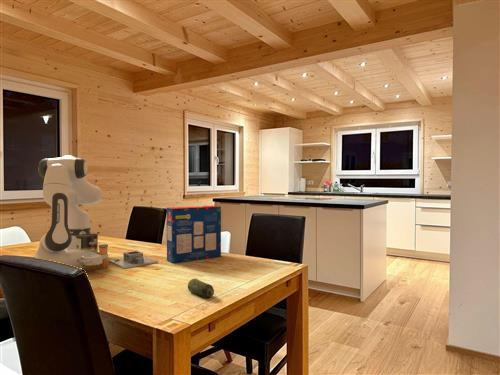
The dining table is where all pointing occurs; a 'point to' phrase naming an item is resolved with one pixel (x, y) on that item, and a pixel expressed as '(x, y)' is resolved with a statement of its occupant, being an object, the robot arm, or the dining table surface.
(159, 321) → the dining table surface
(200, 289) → the vegetable
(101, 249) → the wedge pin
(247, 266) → the dining table surface
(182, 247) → the blue board game box
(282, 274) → the dining table surface
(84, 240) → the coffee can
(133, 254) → the grey square base plate
